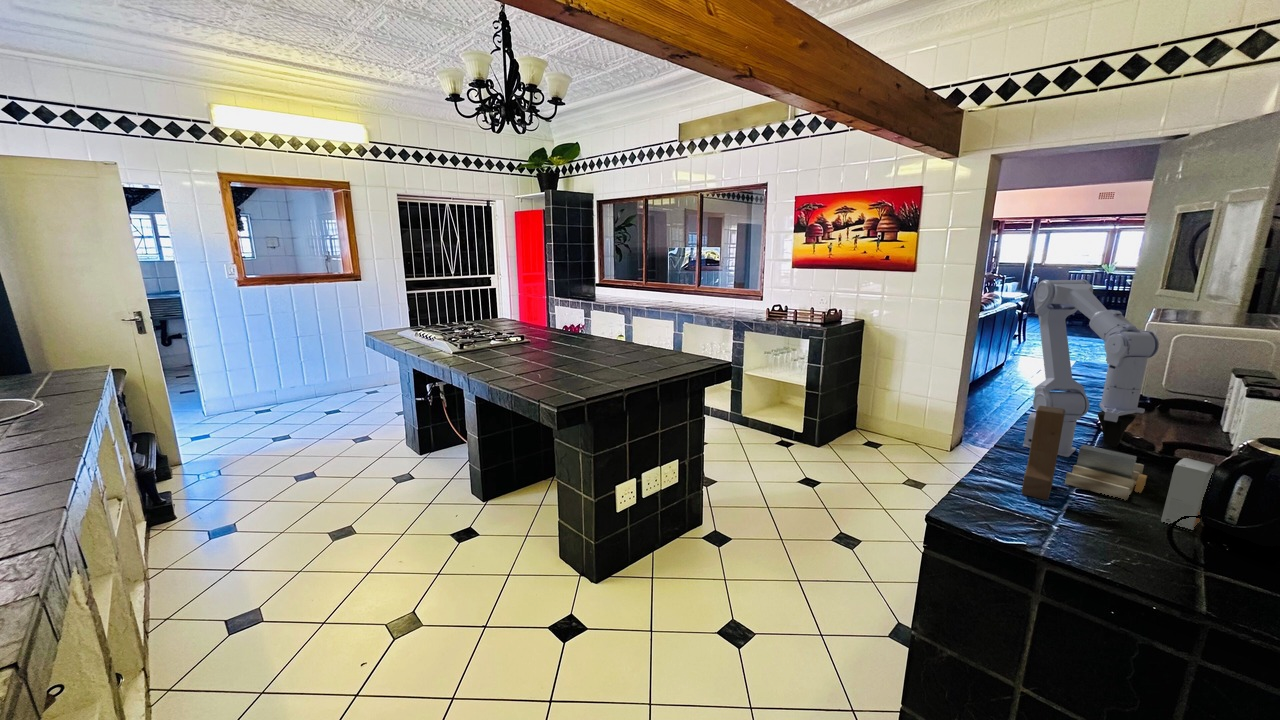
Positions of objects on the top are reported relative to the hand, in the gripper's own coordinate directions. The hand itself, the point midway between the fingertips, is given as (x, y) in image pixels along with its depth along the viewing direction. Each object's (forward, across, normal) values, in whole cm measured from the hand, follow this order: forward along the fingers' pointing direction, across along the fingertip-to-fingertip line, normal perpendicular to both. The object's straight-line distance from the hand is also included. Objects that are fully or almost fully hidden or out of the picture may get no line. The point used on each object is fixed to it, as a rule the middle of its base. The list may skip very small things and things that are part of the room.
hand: (1110, 444), depth 109 cm
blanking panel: (+8, 0, 0) cm, 8 cm away
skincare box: (+9, -12, -13) cm, 20 cm away
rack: (+8, 0, 0) cm, 8 cm away
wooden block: (+9, -18, +8) cm, 21 cm away
